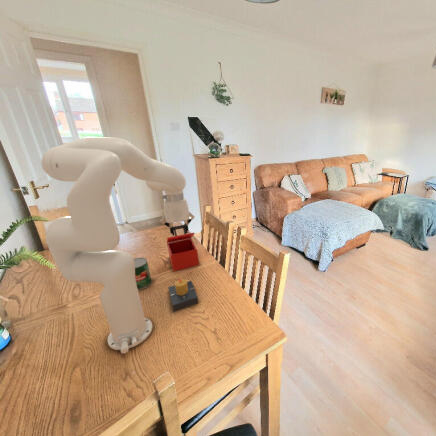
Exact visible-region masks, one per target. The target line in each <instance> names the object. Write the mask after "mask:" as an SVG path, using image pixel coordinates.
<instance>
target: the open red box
mask: <svg viewBox="0 0 436 436" xmlns="http://www.w3.org/2000/svg"><path fill="white" fill-rule="evenodd" d="M166 246H167V251H168V257H169V260H170V264H171V268H172V271H173V272H177V271H181V270H184V269H188V268H192V267H196V266H199V265H200V263H199V255H198V254H199V253H198V250H197V247H196V245H195V243H194V241H193V239H192V238H189V239H184V240H179V241H174V242H169V243H167V242H166Z"/></svg>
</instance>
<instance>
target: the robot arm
mask: <svg viewBox="0 0 436 436" xmlns="http://www.w3.org/2000/svg"><path fill="white" fill-rule="evenodd" d="M41 167H42V169H43V171H44V173H45V174H46V175H47V176H48V177H50V178H52V179H54V180H57V181H61V182H75V183H74V185H73V186H72V187H71V188H70V191H69V192H68V194H67V196H66V208H67V211H68V213H69V216H67V215H66V216H61V217H58V218H55V219H53V221H51V222H50V223H49V225H48V226H47V228H46V231H45V242H46V246H47V247H48V251H49V252H50V254H51V256H52V258H53V261H54V262H55V264H56V267H57V268H58V270H59V272H60V274H61V276H62V277H63V278H64V279H65V280H67V281H68V282H71V283H83V284H99V285H103V288H102V289H101V290H100V293H99V301H100V305H101V307H102V310H103V314H104V316H105V319H106V321H107V325H108V327H109V330H110V332H109V334H108V336H107V339H106V341H107V345H108V347H109V348H110V349H112V350H115V351H120V353H121V354H127V353H128V352H129V349H131V348H134V347H137V346H138V345H141V343H143V342H144V341H145V340H146V339H147V338H148V337H150V335H151V334H152V331H153V329H154V328H153V326H154V325H153V322H152V320H151V319H149V318H147V317H145V312H144V309H143V305H142V300H141V296H140V293H139V290H138V289H137V285H136V279H135V260H134V259H135V257H134V256H133V255H132V254H131V253H130V252H127V251H124V250H116V249H115V248H117V247H118V245H119V243H120V239H121V235H120V231H119V228H118V225H117V222H116V219H115V216H114V212H113V210H112V206H111V202H110V200H111V199H110V197H111V193H112V189H113V188H114V185H115V183H116V182H117V180H118V178H119V177H120V175H121V173H122V172H124V173H126V174H128V175H129V176H131V177H133V178H134V179H136V180H141V181H145V184H146V186H147V187H148V188H149V189H150V190H152V191H156V192H157V191H158V192H164V194H163V195H161V196H160V197H161V200H162V199H163V200H164V201H163V211H164V212H163V216H162V217H161V218H160V220H159V223H160V224H161V225H165V226H166V227H167V228H169V233H170V234H171V235H172V237H173V236H175V233H174V229H173V227H174V225H173V224H174V223H181V222H184V223H183V225H185V231H186V234H188V231H189V225H190V223H191V222H192V221H193V220H194V219H195V217H196V216H195V215H194V214H193V213H191V212H190V210H189V204H188V202H187V199H186V198H185V197H184V189H185V188H186V185H187V181H186V178H185V175H184V174H183V172H181V171H180V170H179V169H177V168H176V167H175V166H173V165H171V164H168V163H165V162H162V161H159V160H157V159H154V158H151V157H150V156H148V155H147V154H146V153H145V152H143V151H142V150H140V149H139V148H138V147H136V146H135V145H134V144H132V143H131V142H130V141H129V140H127V139H125V138H121V137H109V136H107V137H105V136H87V137H83V138H79V139H75V140H73V141H70V142H66V143H62V144H60V145H57V146H53V147H50V148H49V149H48V150H46V151H45V152H44V153H43V155H42V157H41Z"/></svg>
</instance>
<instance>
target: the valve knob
mask: <svg viewBox="0 0 436 436" xmlns="http://www.w3.org/2000/svg"><path fill="white" fill-rule="evenodd" d="M187 282H188V281H187V279H182V278H179V279H178V280H177V281H175V282H174V285H175V288H176V294H177V295H180V296H181V295H185V294H186V293H187V292H188V285H187Z"/></svg>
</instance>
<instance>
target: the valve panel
mask: <svg viewBox="0 0 436 436" xmlns="http://www.w3.org/2000/svg"><path fill="white" fill-rule="evenodd" d="M187 285H188V292H187V293H186V294H185V295H181V296H180V295H177V294H176V288H175V284H174V285H171V286H168V287H167V288H168V294H169V298H170V302H171V307H172V311H173V312H176V311H179V310H182V309H185V308H188V307H191V306H194V305H196V304H199V298H198V295H197V292H196V290H195V287H194V284H193V281H192V280H188V281H187Z"/></svg>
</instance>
